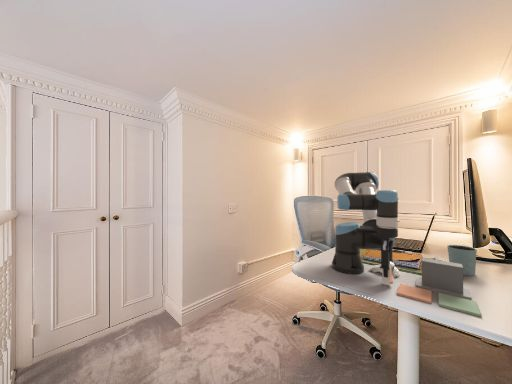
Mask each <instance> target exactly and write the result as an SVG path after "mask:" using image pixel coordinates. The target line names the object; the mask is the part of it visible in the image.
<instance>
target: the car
mask: <svg viewBox="0 0 512 384" xmlns="http://www.w3.org/2000/svg"><path fill="white" fill-rule="evenodd" d="M380 266H381V264H378V265H377V264H375V265H372V266H371V267H370V269H369V270H370V271H371V272H373V273H381V274H382V268H380ZM400 275H401V271H400V270H399V269H398V268H397V267H396V266H395V267H394V277H393V278H396V277H397V278H398V277H399V276H400Z"/></svg>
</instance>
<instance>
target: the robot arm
mask: <svg viewBox="0 0 512 384" xmlns="http://www.w3.org/2000/svg"><path fill="white" fill-rule="evenodd" d="M334 188H335V189H336V191H337V192H338V195H337V202H336V203H337V208H338V209H339V210H344V211H362V217H363V223H362V224H360V223H359V222H357V221H356V222H341V223H338V224H336V226H335V230H334V238H335V239H334V240H335V241H334V242H335V243H334V245H335V246H334V247H335V249H334V251H335V252H334V255H333V258H332V261H331V268H332V269H333V270H335V271H336V272H340V273H344V274H352V275H353V274H354V275H355V274H357V275H358V274H362V273H364V272H365V266H364V262H363V260H362V257H361V250H370V251H380V259H381V260H380V265H381V266H380V268H382V273H381V281H382V282H381V284H383V285H386V286H391V285H390V268H389V265H390V261H391V262H392V263H394V261H393V249H394V245H395V241H396V239H397V238H399V229H398V226H399V223H400V220H399V219H398V217H399V216H398V215H399V210H398V209H399V197H398V191H397V190H394V189H390V190H389V189H386V190H385V189H380V190H378V189H379V177H378V175H377V174H376V173H375V172H373V171H372V172H371V171H365V172H346V173H343V174H341V175H339V176H338V177H336V179H335V182H334Z"/></svg>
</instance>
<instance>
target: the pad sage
mask: <svg viewBox="0 0 512 384" xmlns="http://www.w3.org/2000/svg"><path fill="white" fill-rule="evenodd" d="M437 294H438V306H439V307H442V308H445V309H450V310H453V311H456V312H457V311H458V312H461V313H465V314H468V315H472V316H476V317H478V318H479V317H480V318H482V317H483V316H482V312H481V309H480V307H479V304H478V302H477V301H476V300H473V299H472V300H468V299H464V298H459V297H455V296H451V295H447V294H442V293H438V292H437Z"/></svg>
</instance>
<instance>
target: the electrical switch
mask: <svg viewBox="0 0 512 384" xmlns="http://www.w3.org/2000/svg"><path fill="white" fill-rule="evenodd" d="M428 259H434V260H440V259H439V257H438V256H437V255H435V256H434V257H432V258H431V257H430V258H428Z"/></svg>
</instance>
